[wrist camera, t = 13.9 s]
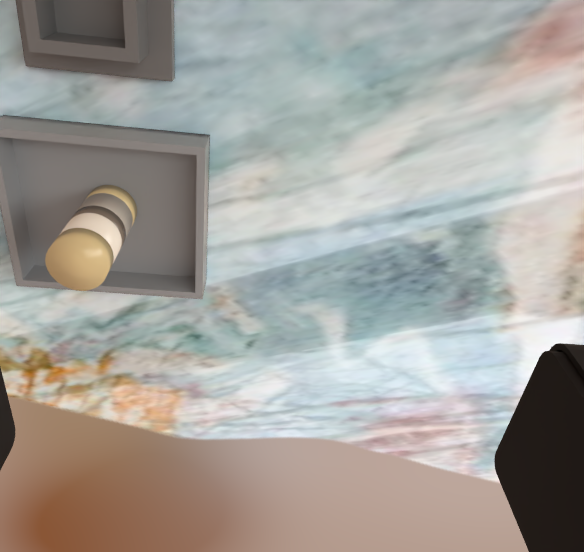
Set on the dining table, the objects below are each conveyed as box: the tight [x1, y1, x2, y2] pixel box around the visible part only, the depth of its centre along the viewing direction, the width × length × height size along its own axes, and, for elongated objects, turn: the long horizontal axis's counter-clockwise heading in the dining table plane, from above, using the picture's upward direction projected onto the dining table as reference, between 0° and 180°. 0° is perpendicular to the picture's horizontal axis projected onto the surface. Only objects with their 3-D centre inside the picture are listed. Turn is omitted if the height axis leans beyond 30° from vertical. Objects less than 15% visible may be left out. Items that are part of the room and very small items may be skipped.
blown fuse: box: [45, 185, 137, 291], centre depth 39 cm, size 4×4×9 cm
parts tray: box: [0, 115, 210, 299], centre depth 42 cm, size 15×13×3 cm
